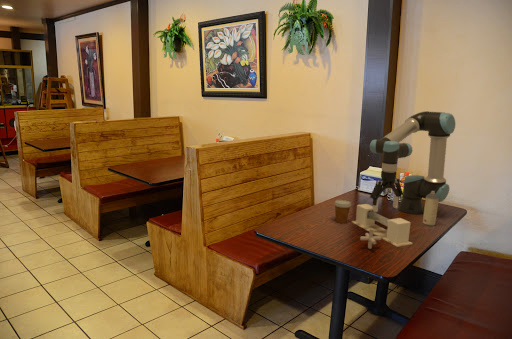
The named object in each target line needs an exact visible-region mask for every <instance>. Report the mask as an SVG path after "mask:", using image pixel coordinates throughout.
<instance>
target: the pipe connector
mask: <svg viewBox="0 0 512 339" xmlns="http://www.w3.org/2000/svg"><path fill="white" fill-rule="evenodd" d="M364 235H365V236H360V237H359V239H360V241H368V242H367V249H370V250H371V249H373V245H377V241H381V240H382V238H381V236H376V235H374V234H373V228H370V230H369V231H368V232H365V234H364Z"/></svg>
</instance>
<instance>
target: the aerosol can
mask: <svg viewBox="0 0 512 339" xmlns="http://www.w3.org/2000/svg"><path fill="white" fill-rule="evenodd" d="M438 201H439V197H438V196H437V195H436V194H435V191H431V193H430V194H428V195H426V199H425V202H424V207H423V216H422V225H424V226H427V227H435V226H436V222H437V215H438V207H439V202H438Z"/></svg>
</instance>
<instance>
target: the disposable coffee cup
mask: <svg viewBox="0 0 512 339" xmlns="http://www.w3.org/2000/svg"><path fill="white" fill-rule="evenodd" d="M351 206H352V204H351V201H348V200H345V199H336V200H335V201H334V207H335V210H334V211H335V222H336V223H339V224H347V223H348V222H347V221H348V218H349V212H350V209H351Z"/></svg>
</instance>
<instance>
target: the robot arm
mask: <svg viewBox="0 0 512 339" xmlns="http://www.w3.org/2000/svg"><path fill="white" fill-rule="evenodd" d="M455 129H456V118H455V116H454V115H453V114H452V113H449V112H442V111H421V112H417V113H416V114H413V115H411V116H409V117H408V118H406V119H405V121H404V123H402V124H401V125H399V126H398V127H396V128H395V129H393V130H392V131H391V132H389V133H387V134H386V135H385V136H384V137H382V138H380V139H373V140H371V142H370V144H369V150H370V152H371V153H374V154H376V155H378V154H379V155H382V161H381V162H382V163H381V171H380V178H381V180H377V179H376V182H375V185H374V187H373V188H372V191H371V194H370V195H369V198H371V199H372V206H373V210H374V211H376V213H377V212H379V200H380V199H379V198H380V196H381V195H382V194H383V192H384V191H385V190H387V189H391V190H392V192H393V194H394V195H393V203H392V207H393V208H394V209H397V210H399V211H400V212H402V213H406V214H412V215H419V214H421V215H422V214H424V207H423V200H422V199H425V200H426V195H428V194H430V193H431V191H435V194H436V195H437V196H438V197H439V201H438V203H441V202H444V201H445V200H446V199H447V197H448V195H449V192H450V185H449V184H448V183H447V179H446V178H445V177H444V174H445V166H446V165H445V163H446V154H447V153H446V151H447V140H448V138H449V137H451V134H453V133H454V131H455ZM420 131H423V132H427V134H428V138H430V143H429V144H430V145H429V154H428V155H429V156H428V167H427V168H428V169H427V170H428V171H427V176H426V177H425V175H419V174H417V175H416V174H414V175H411V174H410V175H407V176H405V177H404V181H403V188H402V186H401V183H400V181H401V180H400V178H397V171H398V160H399V159H403V158H404V159H405V158H406V157H410V156H411V155H412V153H413V147H412V145H411V144H410V143H408V142H402V141H404V140H405V139H406V138H408V136H409V137H410V135H412V134H416V133H417V132H420ZM400 142H402V143H400ZM401 197H402V198H401ZM400 198H401V200H400Z"/></svg>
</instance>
